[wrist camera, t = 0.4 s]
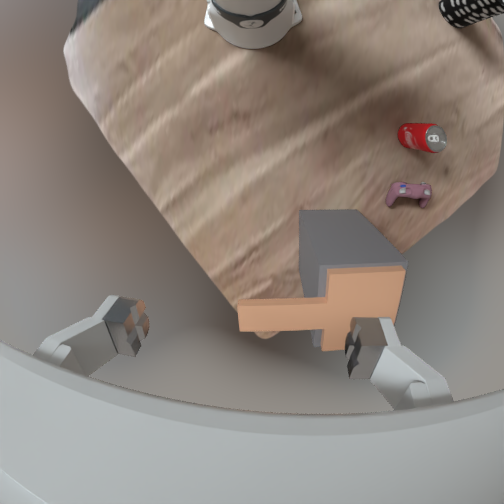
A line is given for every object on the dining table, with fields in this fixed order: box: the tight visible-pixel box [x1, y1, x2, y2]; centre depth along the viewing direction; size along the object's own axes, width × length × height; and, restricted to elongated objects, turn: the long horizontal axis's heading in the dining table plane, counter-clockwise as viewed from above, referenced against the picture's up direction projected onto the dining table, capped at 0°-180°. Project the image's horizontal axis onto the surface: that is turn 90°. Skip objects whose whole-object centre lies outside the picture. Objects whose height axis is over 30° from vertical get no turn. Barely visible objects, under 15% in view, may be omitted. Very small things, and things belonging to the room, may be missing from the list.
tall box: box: [299, 210, 408, 347], centre depth 48 cm, size 13×12×25 cm
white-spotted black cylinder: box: [439, 0, 504, 28], centre depth 25 cm, size 8×8×20 cm
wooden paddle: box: [237, 266, 406, 351], centre depth 36 cm, size 12×21×2 cm, turn 93°
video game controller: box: [386, 182, 432, 208], centre depth 51 cm, size 10×5×7 cm, turn 92°
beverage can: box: [398, 123, 447, 153], centre depth 44 cm, size 5×5×12 cm
